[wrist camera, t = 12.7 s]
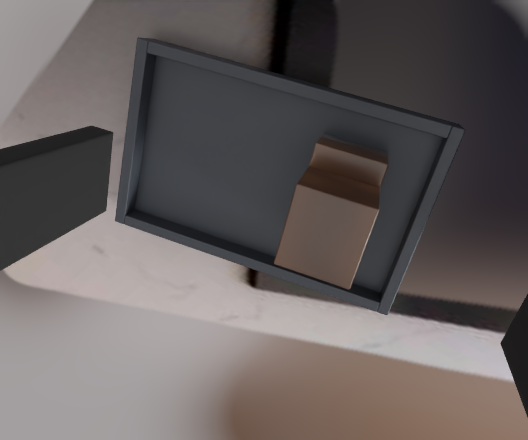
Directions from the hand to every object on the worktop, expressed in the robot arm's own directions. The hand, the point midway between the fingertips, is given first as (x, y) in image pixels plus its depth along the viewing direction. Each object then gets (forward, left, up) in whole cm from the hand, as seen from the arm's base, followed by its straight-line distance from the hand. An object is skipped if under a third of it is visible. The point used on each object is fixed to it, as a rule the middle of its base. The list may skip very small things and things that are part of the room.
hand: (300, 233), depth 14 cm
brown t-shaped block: (+3, +3, -18) cm, 19 cm away
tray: (+6, -1, -19) cm, 20 cm away
